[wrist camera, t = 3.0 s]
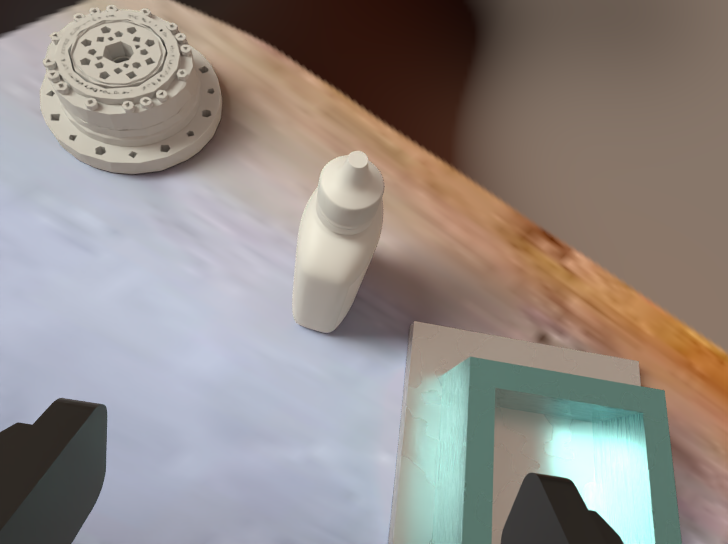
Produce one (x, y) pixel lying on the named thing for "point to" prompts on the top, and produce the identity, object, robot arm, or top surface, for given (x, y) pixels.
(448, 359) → the tray
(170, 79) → the mechanical component
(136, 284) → the top surface
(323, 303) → the eye dropper bottle
